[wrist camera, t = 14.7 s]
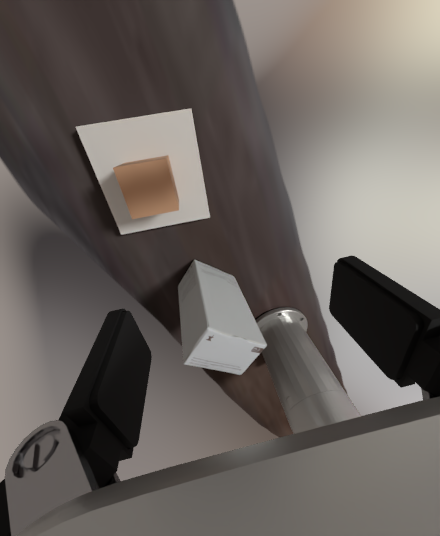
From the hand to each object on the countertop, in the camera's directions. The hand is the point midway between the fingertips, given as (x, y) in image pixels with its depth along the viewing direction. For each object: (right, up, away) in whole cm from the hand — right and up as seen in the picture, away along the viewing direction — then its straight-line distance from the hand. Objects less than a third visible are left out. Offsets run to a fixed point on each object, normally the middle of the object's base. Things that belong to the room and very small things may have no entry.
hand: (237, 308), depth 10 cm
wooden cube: (-9, +12, +16) cm, 22 cm away
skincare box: (-3, 0, +26) cm, 26 cm away
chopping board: (-9, +13, +17) cm, 23 cm away
